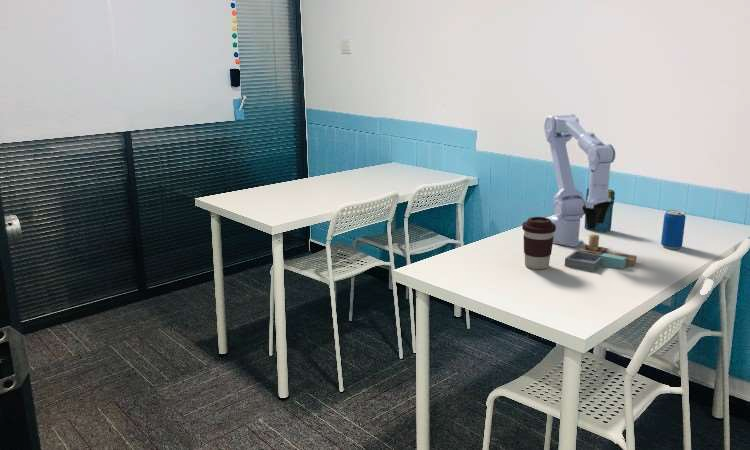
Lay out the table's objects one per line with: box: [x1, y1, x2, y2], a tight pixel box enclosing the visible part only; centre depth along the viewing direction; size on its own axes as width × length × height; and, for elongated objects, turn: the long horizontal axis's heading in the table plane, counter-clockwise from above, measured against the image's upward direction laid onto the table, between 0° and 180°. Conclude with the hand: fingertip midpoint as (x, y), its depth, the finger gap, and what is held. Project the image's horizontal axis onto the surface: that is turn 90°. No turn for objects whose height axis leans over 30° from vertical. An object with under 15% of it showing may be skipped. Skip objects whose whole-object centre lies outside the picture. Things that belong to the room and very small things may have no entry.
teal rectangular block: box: [600, 253, 627, 270], centre depth 201 cm, size 7×3×3 cm, turn 53°
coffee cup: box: [521, 216, 556, 270], centre depth 200 cm, size 10×10×15 cm
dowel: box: [588, 234, 600, 252], centre depth 209 cm, size 3×3×7 cm
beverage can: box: [660, 209, 686, 250], centre depth 217 cm, size 6×6×12 cm
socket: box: [577, 244, 609, 255], centre depth 210 cm, size 7×7×2 cm
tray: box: [564, 250, 602, 272], centre depth 203 cm, size 9×9×2 cm
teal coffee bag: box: [584, 187, 616, 233], centre depth 236 cm, size 10×4×15 cm, turn 58°
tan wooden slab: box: [608, 251, 637, 268], centre depth 204 cm, size 8×5×2 cm, turn 60°
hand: (595, 225), depth 207 cm, fingers open, 7 cm apart
